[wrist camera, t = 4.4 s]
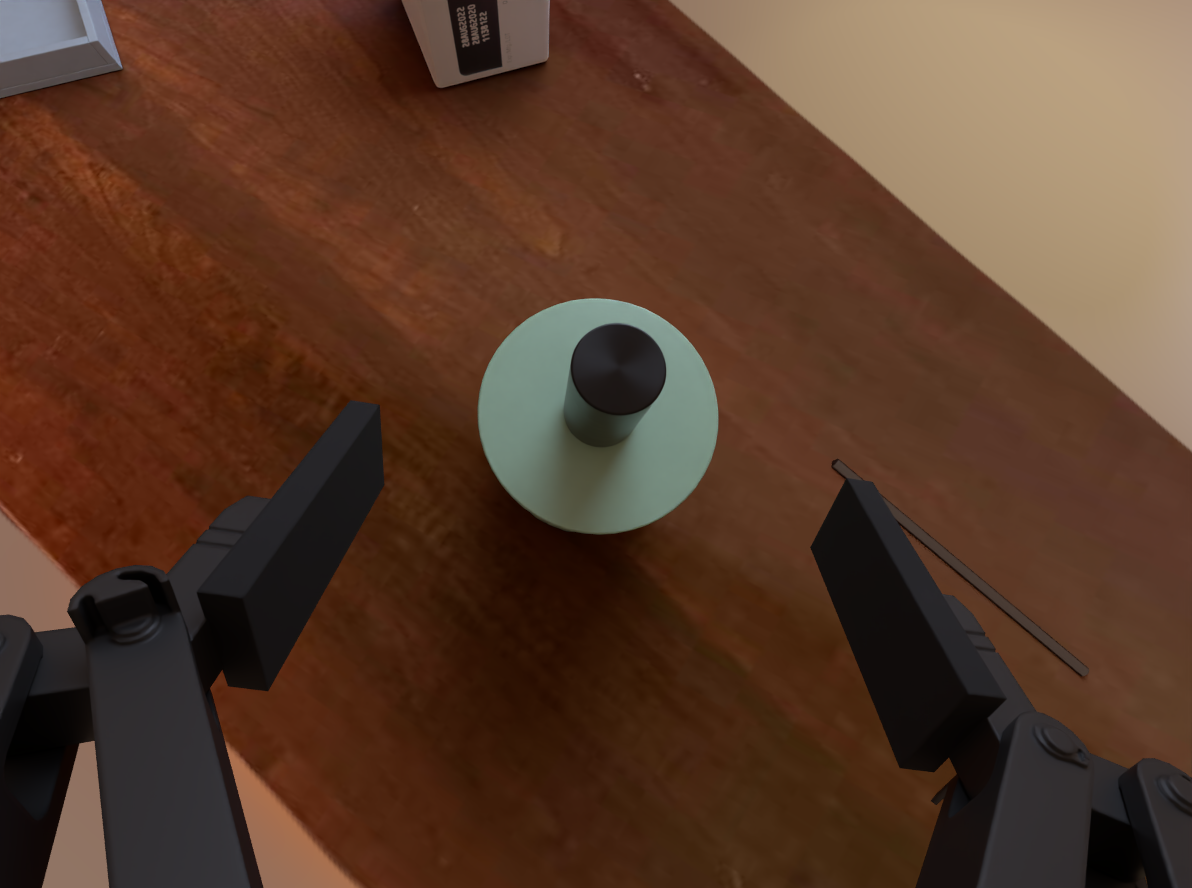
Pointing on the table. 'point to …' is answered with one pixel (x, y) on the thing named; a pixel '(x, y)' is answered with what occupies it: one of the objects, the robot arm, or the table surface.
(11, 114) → the table surface
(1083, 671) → the rod
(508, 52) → the container
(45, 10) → the tray
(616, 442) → the lid
